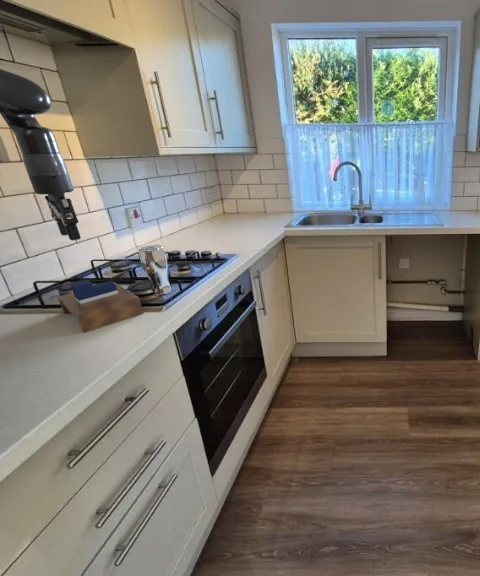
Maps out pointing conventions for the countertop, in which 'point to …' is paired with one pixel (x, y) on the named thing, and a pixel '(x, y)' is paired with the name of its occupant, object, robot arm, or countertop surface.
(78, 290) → the blue stepped sponge
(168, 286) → the beer glass
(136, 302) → the wooden display riser
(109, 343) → the countertop surface
